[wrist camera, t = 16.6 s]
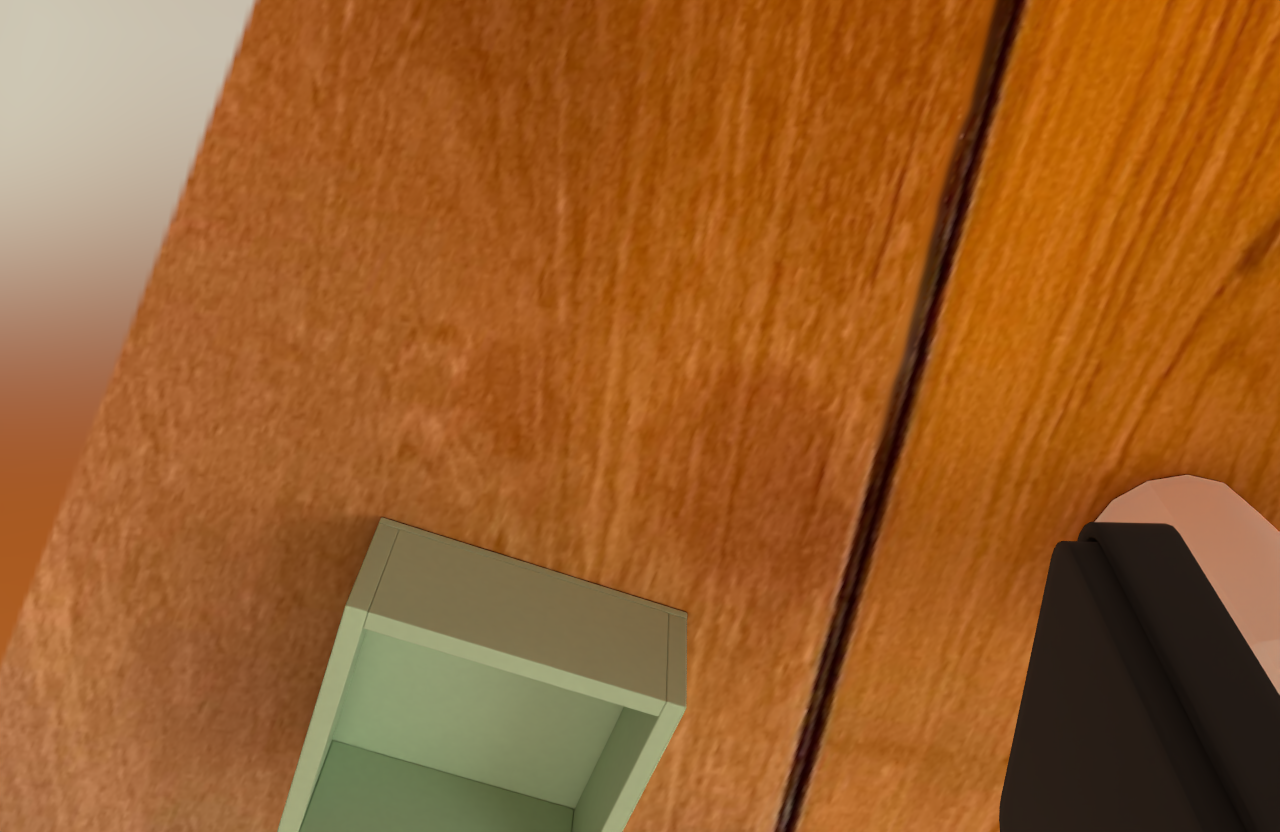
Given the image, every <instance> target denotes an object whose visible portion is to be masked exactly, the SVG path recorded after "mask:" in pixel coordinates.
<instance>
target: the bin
mask: <svg viewBox="0 0 1280 832" xmlns="http://www.w3.org/2000/svg"><path fill="white" fill-rule="evenodd" d="M686 689H687V613H686V612H683V611H680V610H677V609H674V608H670V607H667V606H664V605H661V604H658V603H654V602H651V601H648V600H645V599H642V598H638V597H635V596H632V595H629V594H626V593H622V592H619V591H616V590H613V589H610V588H606V587H603V586H600V585H597V584H594V583H590V582H587V581H584V580H581V579H578V578H574V577H571V576H568V575H565V574H562V573H558V572H555V571H552V570H549V569H546V568H542V567H539V566H536V565H533V564H530V563H526V562H523V561H520V560H517V559H514V558H510V557H507V556H504V555H501V554H498V553H494V552H491V551H488V550H485V549H482V548H478V547H475V546H472V545H469V544H466V543H462V542H459V541H456V540H453V539H450V538H446V537H443V536H440V535H437V534H434V533H430V532H427V531H424V530H421V529H418V528H414V527H411V526H408V525H405V524H402V523H398V522H395V521H392V520H389V519H386V518H381V519H380V521H379V524H378V526H377V529H376V531H375V534H374V536H373V539H372V541H371V544H370V546H369V549H368V551H367V553H366V556H365V558H364V561H363V563H362V566H361V568H360V571H359V573H358V576H357V578H356V581H355V583H354V586H353V588H352V591H351V593H350V596H349V598H348V600H347V603H346V605H345V609H344V612H343V615H342V619H341V622H340V625H339V629H338V632H337V635H336V638H335V642H334V645H333V648H332V652H331V655H330V658H329V662H328V665H327V668H326V672H325V675H324V678H323V682H322V685H321V688H320V691H319V695H318V698H317V701H316V705H315V708H314V711H313V715H312V718H311V721H310V725H309V728H308V731H307V734H306V738H305V741H304V744H303V748H302V751H301V754H300V758H299V761H298V764H297V768H296V771H295V774H294V777H293V781H292V784H291V787H290V791H289V794H288V797H287V801H286V804H285V807H284V811H283V814H282V817H281V820H280V824H279V827H278V830H277V832H623V830H624V828H625V826H626V824H627V822H628V820H629V818H630V816H631V814H632V812H633V810H634V808H635V806H636V805H637V803H638V801H639V799H640V797H641V795H642V793H643V791H644V789H645V787H646V785H647V783H648V781H649V779H650V777H651V776H652V774H653V772H654V770H655V768H656V766H657V764H658V762H659V760H660V758H661V756H662V754H663V752H664V750H665V748H666V747H667V745H668V743H669V741H670V739H671V737H672V735H673V733H674V731H675V729H676V727H677V725H678V723H679V721H680V719H681V718H682V716H683V714H684V712H685V710H686Z"/></svg>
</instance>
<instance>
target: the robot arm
mask: <svg viewBox="0 0 1280 832" xmlns="http://www.w3.org/2000/svg"><path fill="white" fill-rule="evenodd" d="M999 822H1000V832H1280V695H1279V693H1278V692H1277V690H1276V688H1275V687H1274V685H1273V684H1272V682H1271V680H1270V679H1269V677H1268V675H1267V674H1266V672H1265V671H1264V669H1263V667H1262V666H1261V664H1260V662H1259V661H1258V659H1257V658H1256V656H1255V654H1254V653H1253V651H1252V650H1251V648H1250V646H1249V645H1248V643H1247V641H1246V640H1245V638H1244V637H1243V635H1242V633H1241V632H1240V630H1239V629H1238V627H1237V625H1236V624H1235V622H1234V620H1233V619H1232V617H1231V616H1230V614H1229V612H1228V611H1227V609H1226V608H1225V606H1224V604H1223V603H1222V601H1221V599H1220V598H1219V596H1218V595H1217V593H1216V591H1215V590H1214V588H1213V586H1212V585H1211V583H1210V582H1209V580H1208V578H1207V577H1206V575H1205V574H1204V572H1203V570H1202V569H1201V567H1200V565H1199V564H1198V562H1197V561H1196V559H1195V557H1194V556H1193V554H1192V553H1191V551H1190V549H1189V548H1188V546H1187V544H1186V543H1185V541H1184V540H1183V538H1182V536H1181V535H1180V533H1179V532H1178V531H1177V530H1176V529H1175V528H1174V527H1173V526H1172V525H1169V524H1166V523H1122V522H1090V523H1088V524H1086V525H1085V526H1084V527H1083V529H1082V530H1081V532H1080V534H1079V537H1078V540H1077V541H1061V542H1059V543H1057V545H1056V547H1055V548H1054V551H1053V554H1052V557H1051V562H1050V566H1049V571H1048V576H1047V581H1046V585H1045V590H1044V595H1043V600H1042V605H1041V609H1040V614H1039V619H1038V624H1037V628H1036V633H1035V638H1034V643H1033V648H1032V652H1031V657H1030V662H1029V667H1028V671H1027V676H1026V681H1025V686H1024V691H1023V695H1022V700H1021V705H1020V710H1019V714H1018V719H1017V724H1016V729H1015V733H1014V738H1013V743H1012V748H1011V753H1010V757H1009V762H1008V767H1007V772H1006V776H1005V781H1004V786H1003V791H1002V796H1001V802H1000V814H999Z"/></svg>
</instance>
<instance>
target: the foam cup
mask: <svg viewBox="0 0 1280 832" xmlns="http://www.w3.org/2000/svg"><path fill="white" fill-rule="evenodd" d="M1095 522H1122V523H1166V524H1169V525H1172V526H1173V527H1174V528H1175V529H1176V530H1177V531H1178V532H1179V533H1180V535H1181V536H1182V538H1183V540H1184V541H1185V543H1186V544H1187V546H1188V548H1189V549H1190V551H1191V553H1192V554H1193V556H1194V557H1195V559H1196V561H1197V562H1198V564H1199V565H1200V567H1201V569H1202V570H1203V572H1204V574H1205V575H1206V577H1207V578H1208V580H1209V582H1210V583H1211V585H1212V586H1213V588H1214V590H1215V591H1216V593H1217V595H1218V596H1219V598H1220V599H1221V601H1222V603H1223V604H1224V606H1225V608H1226V609H1227V611H1228V612H1229V614H1230V616H1231V617H1232V619H1233V620H1234V622H1235V624H1236V625H1237V627H1238V629H1239V630H1240V632H1241V633H1242V635H1243V637H1244V638H1245V640H1246V641H1247V643H1248V645H1249V646H1250V648H1251V650H1252V651H1253V653H1254V654H1255V656H1256V658H1257V659H1258V661H1259V662H1260V664H1261V666H1262V667H1263V669H1264V671H1265V672H1266V674H1267V675H1268V677H1269V679H1270V680H1271V682H1272V684H1273V685H1274V687H1275V688H1276V690H1277V692H1278V693H1279V695H1280V532H1279V531H1278V530H1277V529H1276V528H1275V527H1274V526H1273V525H1272V524H1271V523H1270V522H1268V521H1267V520H1266V519H1265V518H1264V517H1263V516H1262V515H1261V514H1260V513H1259V512H1258V511H1256V510H1255V509H1254V508H1253V507H1252V506H1251V505H1249V504H1248V503H1247V502H1246V501H1245V500H1244V499H1242V498H1241V497H1240V496H1239V495H1238V494H1237V493H1235V492H1234V491H1233V490H1232V489H1231V488H1230V487H1228V486H1227V485H1226V484H1225V483H1223V482H1218V481H1214V480H1209V479H1205V478H1200V477H1196V476H1192V475H1182V476H1176V477H1170V478H1163V479H1157V480H1151V481H1147V482H1145V483H1143V484H1141V485H1139V486H1138V487H1136V488H1134V489H1132V490H1130V491H1128V492H1127V493H1125V494H1123V495H1121V496H1119V497H1118V498H1116V499H1114V500H1112V501H1111V502H1110V504H1109V505H1108V506H1107V507H1106V508H1105V510H1104V511H1103V512H1102V513H1101V515H1100V516H1099V517H1098V518H1097V519H1096V521H1095Z"/></svg>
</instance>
